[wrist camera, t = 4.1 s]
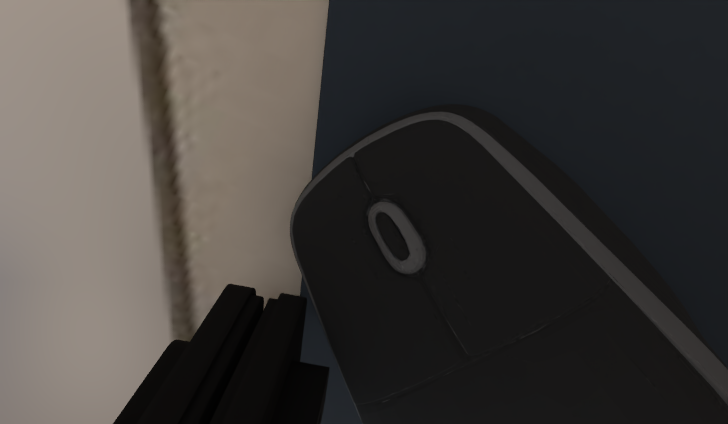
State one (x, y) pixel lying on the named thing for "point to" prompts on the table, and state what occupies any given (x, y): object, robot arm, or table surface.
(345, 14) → the mat
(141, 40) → the table surface
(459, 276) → the computer mouse
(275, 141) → the table surface
